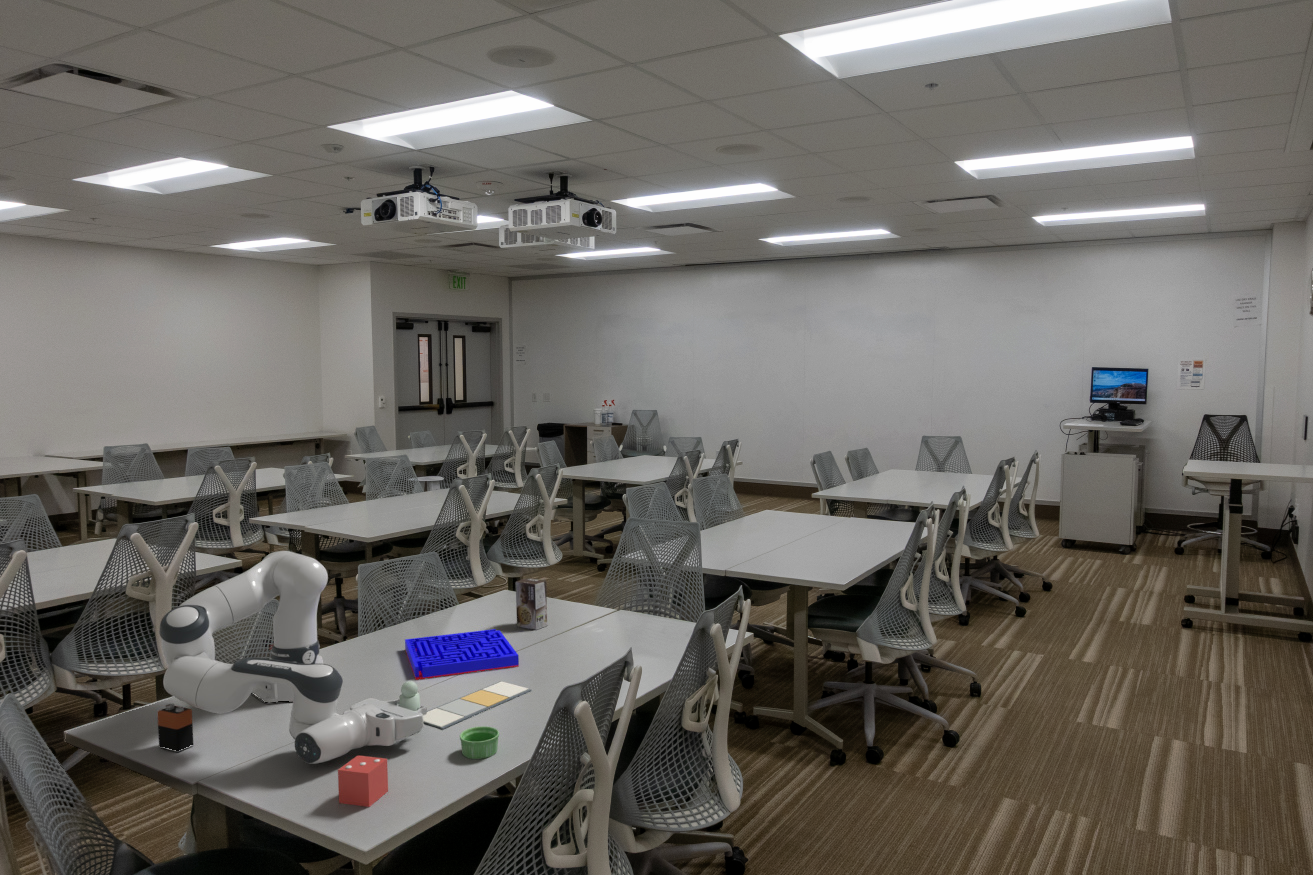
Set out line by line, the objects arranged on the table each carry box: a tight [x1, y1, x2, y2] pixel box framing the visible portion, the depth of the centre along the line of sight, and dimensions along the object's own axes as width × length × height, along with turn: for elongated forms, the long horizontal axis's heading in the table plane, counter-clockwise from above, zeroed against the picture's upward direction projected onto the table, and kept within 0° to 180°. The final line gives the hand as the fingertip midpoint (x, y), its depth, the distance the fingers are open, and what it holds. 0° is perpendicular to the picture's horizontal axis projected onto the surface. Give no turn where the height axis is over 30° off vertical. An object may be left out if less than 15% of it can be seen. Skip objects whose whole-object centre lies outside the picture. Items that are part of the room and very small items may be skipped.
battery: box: [156, 703, 194, 751], centre depth 207 cm, size 4×7×10 cm, turn 66°
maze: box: [404, 628, 520, 681], centre depth 271 cm, size 30×30×4 cm
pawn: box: [398, 680, 422, 735], centre depth 215 cm, size 5×5×12 cm
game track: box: [423, 681, 532, 730], centre depth 232 cm, size 12×32×1 cm, turn 145°
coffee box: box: [515, 577, 548, 631], centre depth 305 cm, size 9×6×16 cm
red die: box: [337, 755, 389, 808], centre depth 181 cm, size 7×7×7 cm
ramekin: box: [459, 725, 500, 760], centre depth 203 cm, size 9×9×4 cm
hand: (412, 705), depth 216 cm, fingers open, 8 cm apart
